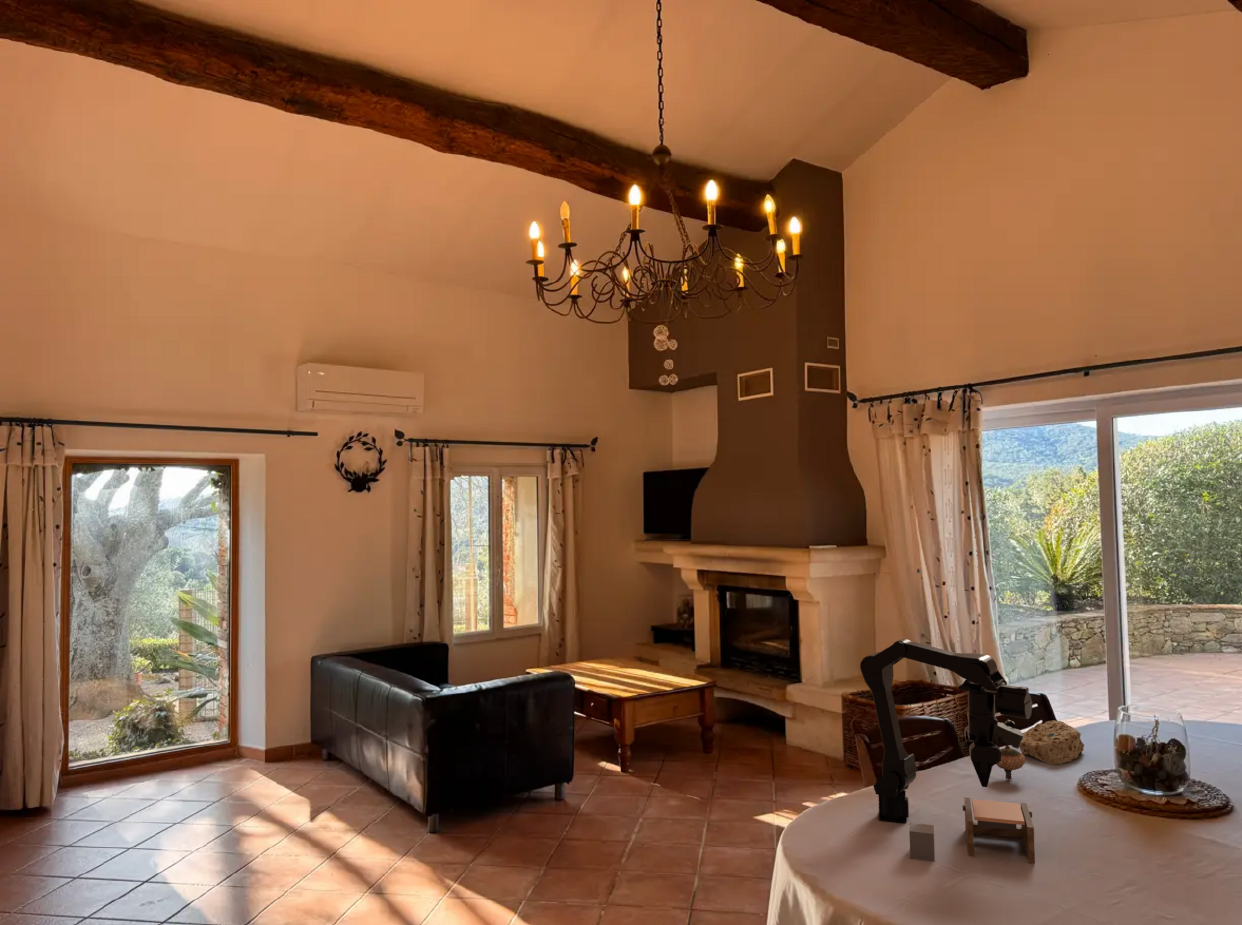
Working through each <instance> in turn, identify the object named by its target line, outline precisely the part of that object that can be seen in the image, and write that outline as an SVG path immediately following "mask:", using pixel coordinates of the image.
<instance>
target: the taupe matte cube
mask: <svg viewBox="0 0 1242 925" xmlns="http://www.w3.org/2000/svg"><path fill="white" fill-rule="evenodd" d="M908 833H909V835H908V836H909V859H910V860H915V861H916V860H917V861H924V862H935V859H936V858H935V825H934V824H926V823H916V822H909V832H908Z"/></svg>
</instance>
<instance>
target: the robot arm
mask: <svg viewBox="0 0 1242 925" xmlns="http://www.w3.org/2000/svg"><path fill="white" fill-rule="evenodd" d="M903 659H907V660H912V661H915V662H919V663H922V664H926V665H929V666H933V667H937V668H939V669H940V668H941V669H944V670H946V671H947V670H948V671H950V672H952V673H955V675H957V676H959V677H960V678H962V679H964V681H963V683H961V685H959V686H958V687H957V689H958V690H960V691H967V712H966V714H967V715H966V716H967V717H966V718H967V724H968V725H965V727H964V738H965V743H966V745H967V748H968V750H969V757H970V760H971V763H972V767H974V770H975V772H976V775H977V779H978V780H979V783H980V785H981V787H982V788H988V786H989V780H990V777H991V773H992V769H993V767H994V766H995V765H996V763H999V762H1000V761H1001V751H1000V749H1001V748H1000V747H999V746H998V745H997V744H999V741H1000V742H1002V743H1003V744H1004V743H1005V744H1006V743H1007V744H1008V746H1011V747H1012V748H1013V749H1014V748H1015V749H1016V750H1017V749H1020V747H1019V746H1020V743H1021V741H1022V738H1023V732H1022V731H1021V730H1020V729H1019V728H1016V724H1015V722H1014V721H1013V720H1010V719H1007V720H1005V721H1004V722H999V721H998V719H997V716H996V712H998V713H999V714H1000V715H1001V716H1005V717H1013V718H1019V719H1025V720H1029V719H1030V718H1031V716H1032V710H1033V700H1032V697H1031V693H1030V692H1029V687H1028V686H1027V687H1026V686H1014V685H1009V684H1008V682H1007V680H1006V679H1005V678H1004V676H1003V675H1002V674H1001V672H1000V671H999V670H998V665H997V663H996V661H995V660H994V658H993V657H992V656H991V655H988V654H982V653H981V654H980V653H969V652H965V653H964V652H955V651H954V652H953V651H950V650H947V649H946V650H945V649H942V648H938V647H935V646H930V645H927V644H923V643H919V642H916V641H912V640H909V639H907V638H903V639H902V638H901V639H899V640H896V641H894V643H893V644H891V645H889V646H888V647H886V648H885V649H883V650H882V651H878V652H874V653H872V654H869V655H867V656H865V657H863V658H862V659H861V662H860V664H859V666H860V667H859V668H860V672H861V674H862V677H863V680H864V683H865V685H866V686H867V687H868V688H869V690H870V691H871V693H872V697H873V703H874V707H875V708H874V709H875V713H876V718H877V721H878V722H877V723H878V728H879V732H880V737H881V742H882V748H883V758H882V763H881V768H882V771H881V772H882V777H881V779H879V780H878V781H877V782H876V783H875V784H873V790H874V791H875V795H877V797H878V817H877V819H878V820H879V821H885V822H895V823H907V819H908V818H909V815H910V811H909V808H910V806H909V804H910V803H909V797H907V795H906V792H907V789H909V786H910V784H912V783H913V782H914V781H915V779H916V776H917V772H918V771H919V769H918V768H917V765H916V758H915V754H914V753H911V754H908V751H906V749H905V747H904V743H903V738H902V734H901V728H900V723H899V719H898V715H897V714H898V713H897V710H896V704H895V700H894V699H895V698H894V695H893V690H892V689H893V688H892V687H893V681H894V665H896V664H897V663H898V662H901V661H902V660H903Z"/></svg>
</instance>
